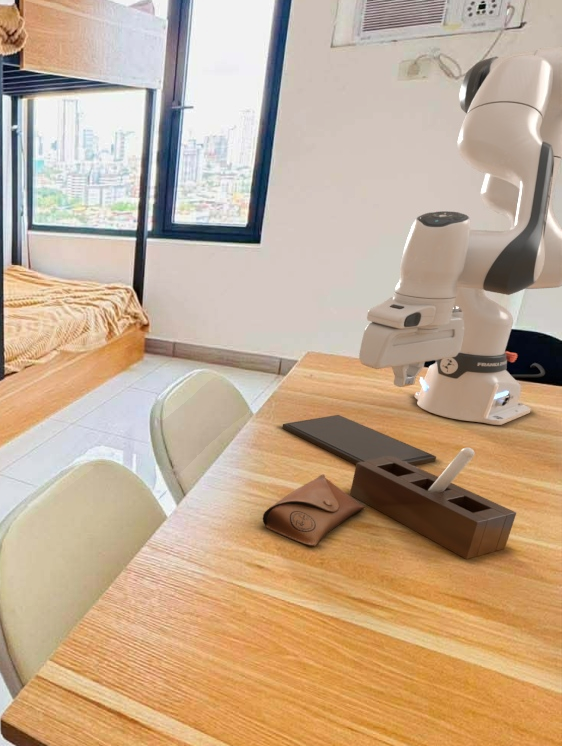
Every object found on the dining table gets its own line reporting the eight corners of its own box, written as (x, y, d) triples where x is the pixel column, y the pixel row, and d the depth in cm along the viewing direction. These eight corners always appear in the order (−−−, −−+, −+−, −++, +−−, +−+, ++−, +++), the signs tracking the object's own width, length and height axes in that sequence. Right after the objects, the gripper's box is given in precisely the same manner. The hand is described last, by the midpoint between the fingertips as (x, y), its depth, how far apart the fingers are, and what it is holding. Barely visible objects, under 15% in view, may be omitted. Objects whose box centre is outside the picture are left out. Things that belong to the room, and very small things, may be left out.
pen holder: (384, 487, 108) (392, 455, 105) (505, 548, 90) (517, 512, 88) (349, 494, 105) (356, 462, 103) (466, 559, 88) (477, 522, 86)
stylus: (417, 511, 100) (473, 445, 90) (422, 519, 98) (479, 453, 89) (407, 510, 100) (462, 444, 90) (411, 518, 98) (468, 452, 89)
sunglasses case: (317, 547, 90) (300, 503, 91) (273, 550, 96) (257, 508, 96) (368, 506, 101) (352, 467, 101) (325, 511, 106) (310, 473, 107)
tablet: (337, 418, 136) (338, 414, 136) (435, 461, 116) (436, 455, 116) (281, 428, 132) (282, 423, 131) (374, 473, 112) (375, 468, 112)
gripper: (446, 301, 114) (429, 372, 119) (360, 311, 108) (345, 386, 113) (482, 308, 108) (462, 383, 113) (393, 320, 102) (376, 398, 107)
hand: (403, 385), depth 113 cm, fingers closed
